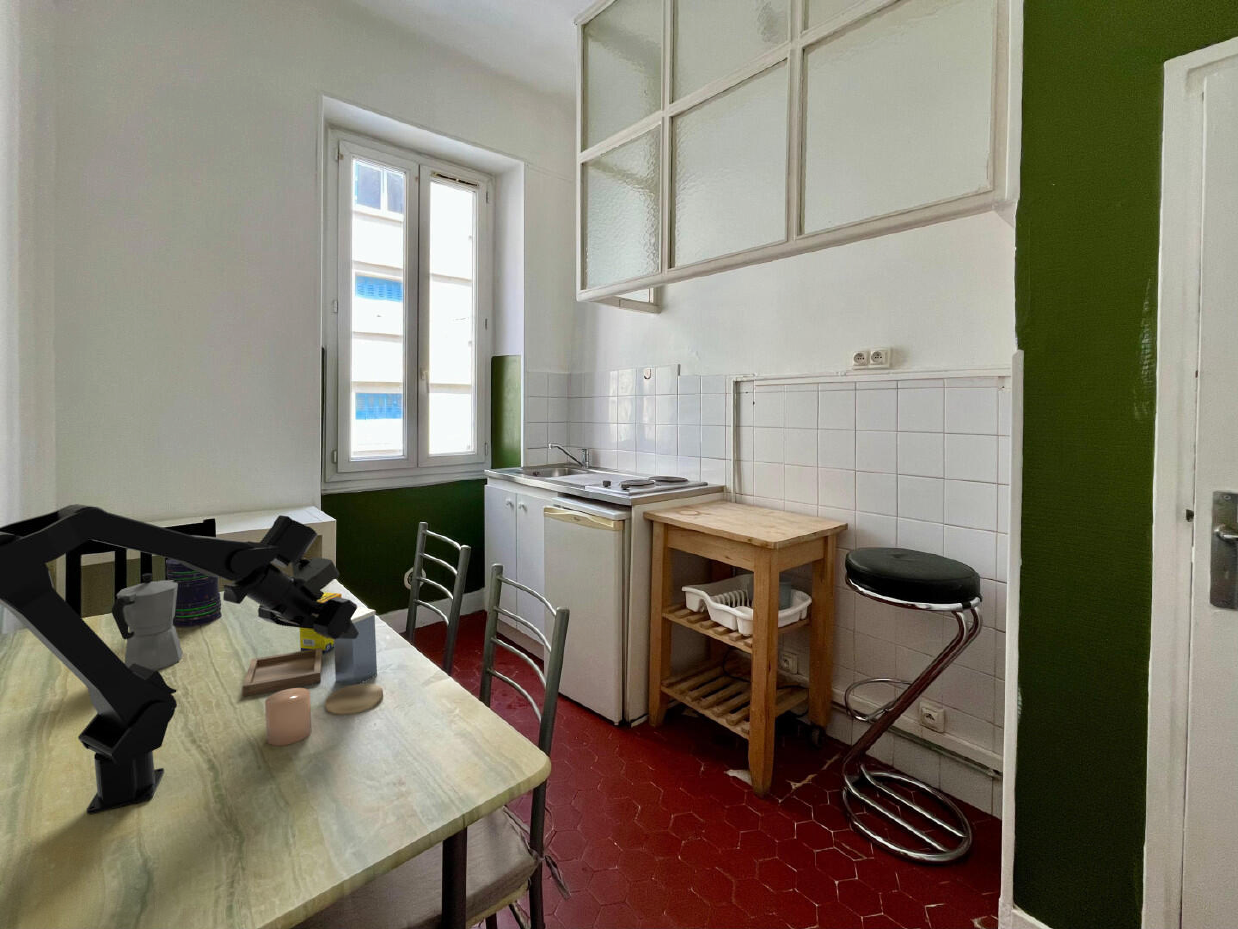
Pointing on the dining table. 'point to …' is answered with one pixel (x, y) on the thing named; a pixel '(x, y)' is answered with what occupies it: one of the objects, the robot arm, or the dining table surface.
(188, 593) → the storage jar
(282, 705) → the pink rounded cylinder
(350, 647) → the tea tin
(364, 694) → the cork coaster
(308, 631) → the supplement box
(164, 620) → the coffeepot
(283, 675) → the walnut tray
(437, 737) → the dining table surface
